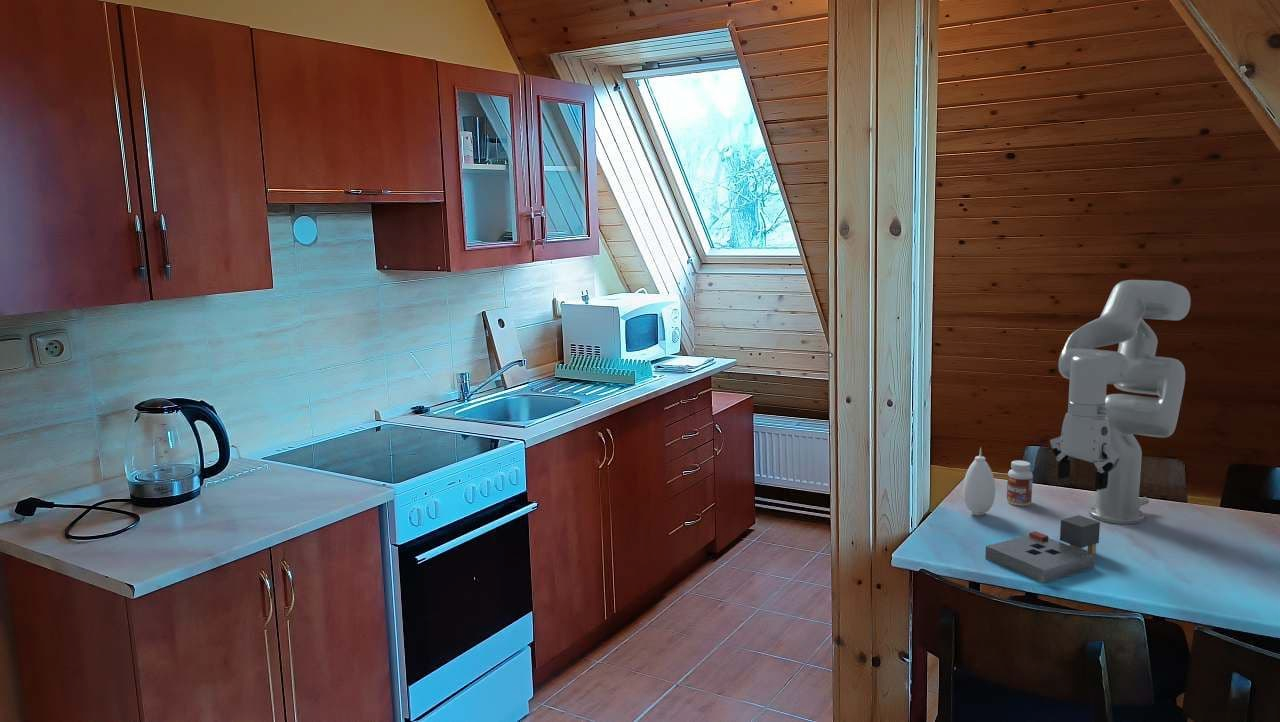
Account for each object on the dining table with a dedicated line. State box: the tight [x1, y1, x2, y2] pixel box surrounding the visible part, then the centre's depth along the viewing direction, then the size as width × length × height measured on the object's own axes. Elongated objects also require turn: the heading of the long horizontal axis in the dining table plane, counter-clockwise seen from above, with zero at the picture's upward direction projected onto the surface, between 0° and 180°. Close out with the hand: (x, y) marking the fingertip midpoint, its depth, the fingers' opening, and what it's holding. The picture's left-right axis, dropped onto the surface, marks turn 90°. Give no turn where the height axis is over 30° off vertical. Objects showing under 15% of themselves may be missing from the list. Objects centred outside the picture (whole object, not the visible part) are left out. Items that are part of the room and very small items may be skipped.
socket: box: [984, 530, 1096, 584], centre depth 208 cm, size 16×16×4 cm
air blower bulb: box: [962, 446, 996, 517], centre depth 239 cm, size 8×8×18 cm
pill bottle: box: [1006, 459, 1034, 507], centre depth 247 cm, size 6×6×11 cm
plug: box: [1059, 514, 1101, 555], centre depth 213 cm, size 6×6×8 cm
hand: (1081, 483), depth 211 cm, fingers open, 9 cm apart
